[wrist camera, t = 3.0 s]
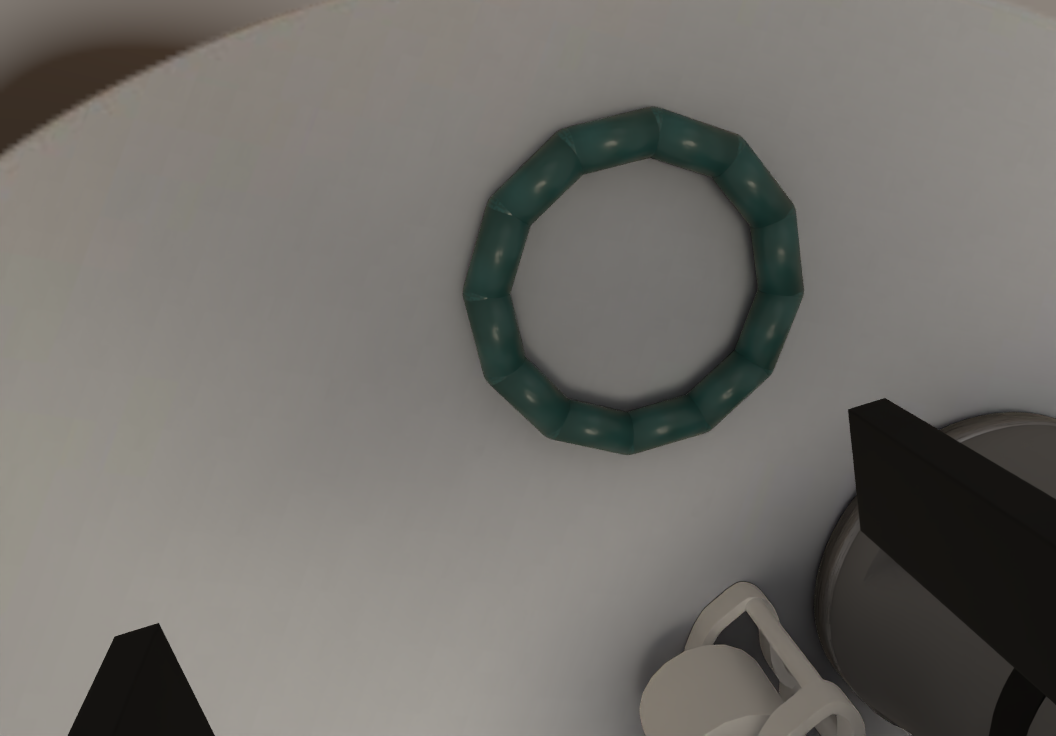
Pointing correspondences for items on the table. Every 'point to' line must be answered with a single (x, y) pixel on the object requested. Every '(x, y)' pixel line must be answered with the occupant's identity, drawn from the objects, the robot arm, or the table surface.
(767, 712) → the wheeled car silhouette
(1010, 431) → the robot arm
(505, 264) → the ring
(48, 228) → the table surface
